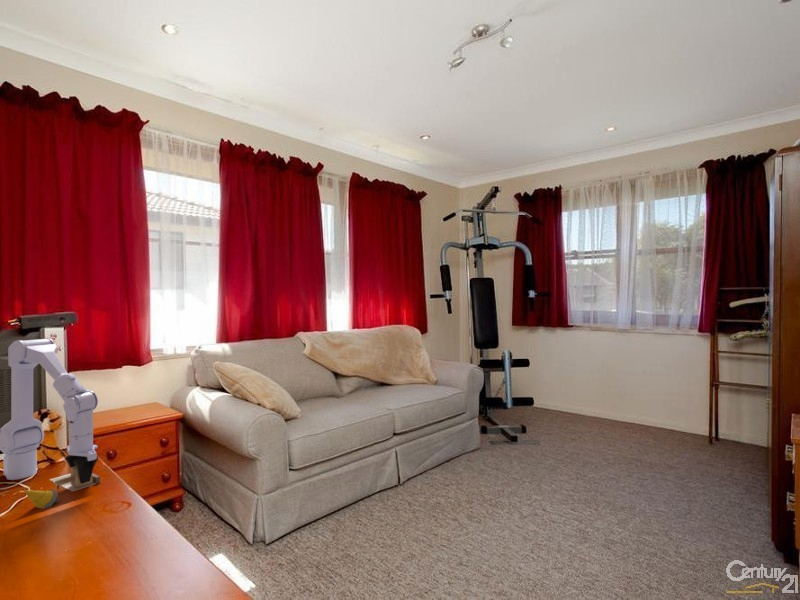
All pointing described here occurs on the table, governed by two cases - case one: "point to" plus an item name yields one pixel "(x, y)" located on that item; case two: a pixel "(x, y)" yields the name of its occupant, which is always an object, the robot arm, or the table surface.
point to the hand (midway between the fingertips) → (81, 480)
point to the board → (72, 488)
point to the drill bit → (42, 498)
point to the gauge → (73, 479)
